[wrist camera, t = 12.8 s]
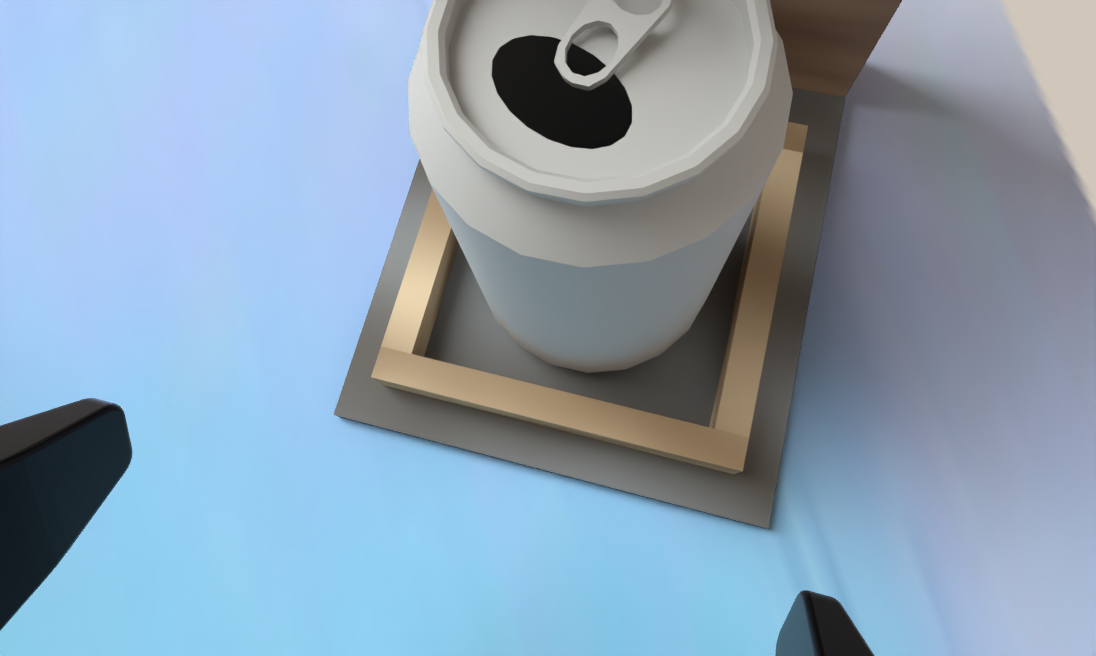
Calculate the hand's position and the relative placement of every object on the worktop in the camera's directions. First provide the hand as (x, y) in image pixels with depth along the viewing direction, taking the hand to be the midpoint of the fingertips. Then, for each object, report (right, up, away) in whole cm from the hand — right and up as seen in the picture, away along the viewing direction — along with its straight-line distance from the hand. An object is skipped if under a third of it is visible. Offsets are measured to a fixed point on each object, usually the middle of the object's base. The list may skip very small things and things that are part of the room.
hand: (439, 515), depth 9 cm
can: (+3, +4, +15) cm, 16 cm away
